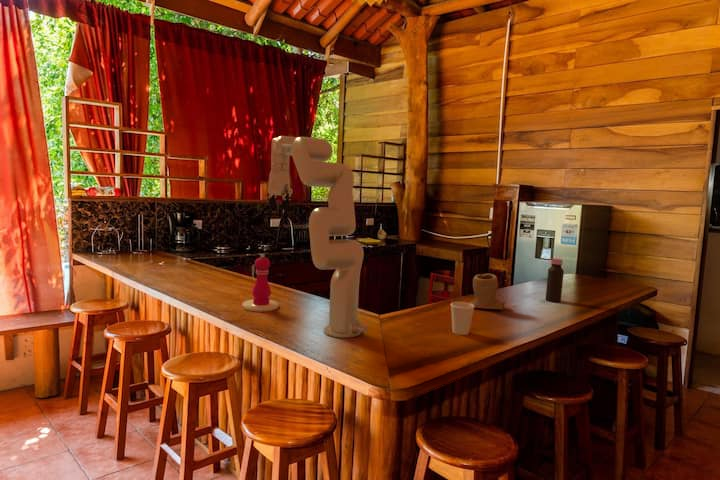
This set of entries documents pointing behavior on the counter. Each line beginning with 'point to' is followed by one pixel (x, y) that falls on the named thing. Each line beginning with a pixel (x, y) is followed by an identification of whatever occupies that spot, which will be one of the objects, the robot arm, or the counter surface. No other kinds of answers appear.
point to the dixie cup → (461, 317)
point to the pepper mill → (261, 282)
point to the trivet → (259, 306)
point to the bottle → (555, 281)
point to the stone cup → (486, 292)
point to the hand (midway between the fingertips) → (278, 209)
